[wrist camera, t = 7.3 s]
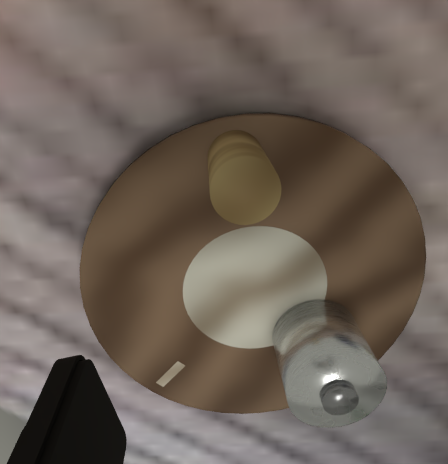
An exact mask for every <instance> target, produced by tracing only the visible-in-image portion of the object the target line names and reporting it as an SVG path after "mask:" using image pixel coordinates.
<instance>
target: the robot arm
mask: <svg viewBox="0 0 448 464" xmlns="http://www.w3.org/2000/svg"><path fill="white" fill-rule="evenodd" d="M125 450H126V434H125V431H124V429H123V426H122V424H121V422H120V420H119V418H118V416H117V413H116V411H115V409H114V407H113V405H112V403H111V400H110V398H109V396H108V394H107V392H106V390H105V388H104V385H103V383H102V381H101V379H100V377H99V375H98V372H97V370H96V368H95V366H94V364H93V362H92V361H91V360H90V359H88V360H86V359H85V358H84V357H83V356H82V355H77V356H72V357H67V358H63V359H58V360H57V361H56V362H55V363H54V365H53V367H52V369H51V372H50V374H49V376H48V378H47V380H46V383H45V385H44V387H43V389H42V391H41V394H40V396H39V398H38V400H37V402H36V404H35V407H34V409H33V411H32V413H31V415H30V418H29V420H28V422H27V424H26V426H25V427H24V429H23V430H22V432H21V434H20V437H19V439H18V441H17V443H16V445H15V447H14V449H13V452H12V454H11V456H10V458H9V460H8V462H7V464H123V461H124V456H125Z"/></svg>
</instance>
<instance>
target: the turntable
mask: <svg viewBox="0 0 448 464" xmlns="http://www.w3.org/2000/svg"><path fill="white" fill-rule="evenodd" d="M425 263H426V248H425V236H424V232H423V227H422V222H421V218H420V216H419V213H418V211H417V208H416V206H415V203H414V201H413V198H412V197H411V195H410V193H409V192H408V190H407V188H406V187H405V185H404V183H403V182H402V180H401V179H400V178H399V177H398V176H397V174H396V173H395V172H394V171H393V170H392V169H391V167H390V166H389V165H388V164H387V163H386V162H385V161H384V160H382V159H381V158H380V157H379V156H378V155H377V154H375V153H374V152H373V151H372V150H371V149H369V148H368V147H366V146H365V145H363V144H361V143H360V142H358V141H356V140H355V139H353V138H352V137H350V136H348V135H347V134H345V133H344V132H341V131H339V130H337V129H334V128H332V127H330V126H327V125H325V124H323V123H320V122H316V121H312V120H308V119H305V118H301V117H297V116H289V115H281V114H273V113H263V114H241V115H234V116H227V117H221V118H217V119H213V120H210V121H206V122H203V123H200V124H196V125H193V126H191V127H189V128H187V129H184V130H182V131H180V132H178V133H175V134H173V135H171V136H169V137H168V138H166V139H164V140H163V141H161V142H159V143H158V144H156V145H155V146H153V147H151V148H150V149H148V150H147V151H146V152H145V153H144V154H142V155H141V156H140V157H139V158H138V159H136V160H135V161H134V162H133V163H132V164H130V165H129V167H128V168H127V169H126V170H125V171H124V172H123V173H122V174H121V175H120V176H119V178H118V179H117V180H116V181H115V182H114V183H113V185H112V186H111V188H110V189H109V191H108V192H107V194H106V195H105V197H104V198H103V200H102V201H101V203H100V205H99V206H98V208H97V210H96V212H95V215H94V217H93V219H92V221H91V223H90V225H89V227H88V231H87V234H86V237H85V241H84V244H83V248H82V255H81V263H80V289H81V295H82V300H83V305H84V309H85V312H86V315H87V318H88V320H89V323H90V326H91V328H92V330H93V332H94V333H95V335H96V337H97V339H98V341H99V343H100V344H101V345H102V347H103V348H104V349H105V351H106V352H107V354H108V355H109V356H110V358H111V359H112V360H113V361H114V362H115V363H116V364H117V365H118V366H119V367H120V368H121V369H122V370H123V371H124V372H125V373H127V374H128V375H129V376H130V377H132V378H133V379H134V380H135V381H137V382H138V383H140V384H141V385H143V386H144V387H146V388H148V389H149V390H151V391H152V392H154V393H157V394H159V395H161V396H163V397H165V398H167V399H169V400H172V401H175V402H177V403H180V404H183V405H186V406H190V407H194V408H198V409H202V410H207V411H214V412H221V413H240V414H244V413H262V412H269V411H276V410H282V409H286V408H289V406H288V402H287V398H286V394H285V390H284V386H283V382H282V378H281V374H280V370H279V366H278V362H277V358H276V354H275V349H274V345H273V340H272V335H273V330H274V327H275V325H276V323H277V321H278V320H279V318H280V317H281V316H282V315H283V314H284V313H285V312H286V311H287V310H289V309H290V308H292V307H293V306H295V305H297V304H300V303H302V302H306V301H310V300H320V299H321V300H330V301H333V302H337V303H339V304H341V305H342V306H344V307H345V308H346V309H347V310H349V312H350V313H351V314H352V316H353V318H354V320H355V322H356V323H357V325H358V327H359V329H360V330H361V332H362V334H363V336H364V338H365V339H366V341H367V343H368V345H369V347H370V348H371V350H372V352H373V354H374V355H375V357H376V359H377V361H378V360H379V359H380V358H381V357H382V356H383V355H384V353H385V352H386V351H387V350H388V349H389V348H390V347H391V346H392V345H393V343H394V342H395V341H396V339H397V338H398V336H399V335H400V334H401V332H402V331H403V330H404V328H405V326H406V324H407V322H408V321H409V319H410V317H411V315H412V313H413V311H414V308H415V306H416V303H417V301H418V298H419V296H420V292H421V288H422V284H423V280H424V274H425Z"/></svg>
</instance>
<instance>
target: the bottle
mask: <svg viewBox="0 0 448 464" xmlns="http://www.w3.org/2000/svg"><path fill="white" fill-rule="evenodd" d="M272 340H273V345H274V349H275V354H276V358H277V362H278V366H279V370H280V374H281V378H282V382H283V386H284V390H285V394H286V398H287V402H288V406H289V408H290V410H291V412H292V413H293V414H294V416H296V417H297V418H298V419H299V420H301V421H302V422H304V423H306V424H309V425H312V426H316V427H322V428H333V427H341V426H345V425H349V424H352V423H354V422H357V421H359V420H361V419H363V418H364V417H366V416H367V415H369V414H370V413H371V412H372V411H374V410H375V409H376V408H377V407H378V405H379V404H380V403H381V401H382V399H383V398H384V395H385V393H386V389H387V380H386V376H385V373H384V372H383V370H382V368H381V366H380V364H379V363H378V361H377V359H376V357H375V355H374V354H373V352H372V350H371V348H370V347H369V345H368V343H367V341H366V339H365V338H364V336H363V334H362V332H361V330H360V329H359V327H358V325H357V323H356V322H355V320H354V318H353V316H352V314H351V313H350V312H349V310H347V309H346V308H345V307H344V306H342V305H341V304H339V303H337V302H333V301H330V300H321V299H320V300H310V301H306V302H302V303H300V304H297V305H295V306H293V307H292V308H290V309H289V310H287V311H286V312H285V313H284V314H283V315H282V316H281V317H280V318H279V320H278V321H277V323H276V325H275V327H274V330H273V335H272Z"/></svg>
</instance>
